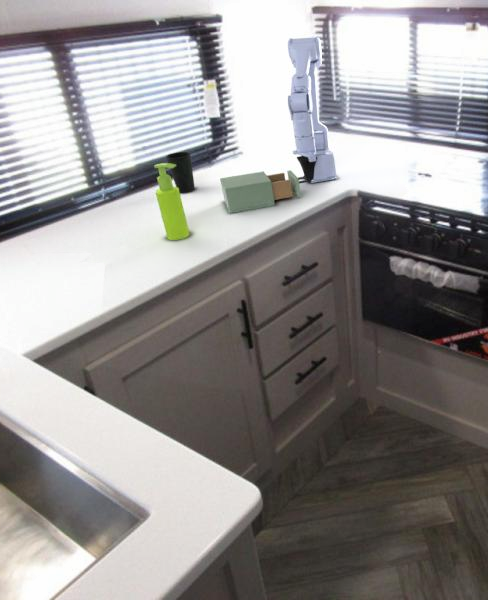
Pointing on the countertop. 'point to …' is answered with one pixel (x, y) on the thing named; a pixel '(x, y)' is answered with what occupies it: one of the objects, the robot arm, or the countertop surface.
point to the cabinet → (247, 192)
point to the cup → (182, 171)
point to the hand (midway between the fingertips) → (309, 179)
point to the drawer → (286, 185)
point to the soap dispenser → (171, 205)
